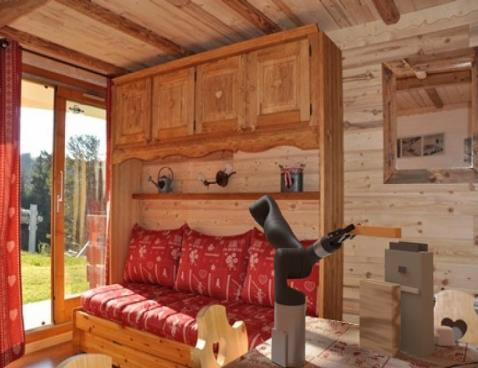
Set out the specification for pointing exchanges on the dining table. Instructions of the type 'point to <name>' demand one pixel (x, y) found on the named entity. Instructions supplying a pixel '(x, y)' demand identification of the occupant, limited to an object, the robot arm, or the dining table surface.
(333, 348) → the dining table surface
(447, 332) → the power adapter
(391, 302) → the birch block
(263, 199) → the robot arm
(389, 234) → the orange block
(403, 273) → the case
